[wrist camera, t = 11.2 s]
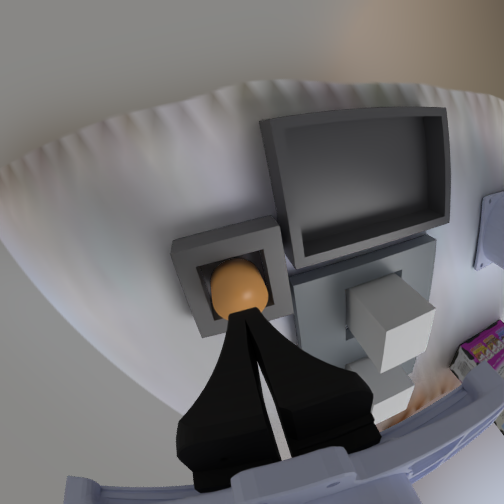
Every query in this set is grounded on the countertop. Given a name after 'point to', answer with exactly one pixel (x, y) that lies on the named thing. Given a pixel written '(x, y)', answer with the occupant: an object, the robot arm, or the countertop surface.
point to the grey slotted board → (333, 297)
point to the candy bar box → (482, 356)
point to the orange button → (237, 287)
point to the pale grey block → (389, 320)
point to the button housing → (227, 246)
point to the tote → (357, 178)
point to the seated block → (384, 388)
